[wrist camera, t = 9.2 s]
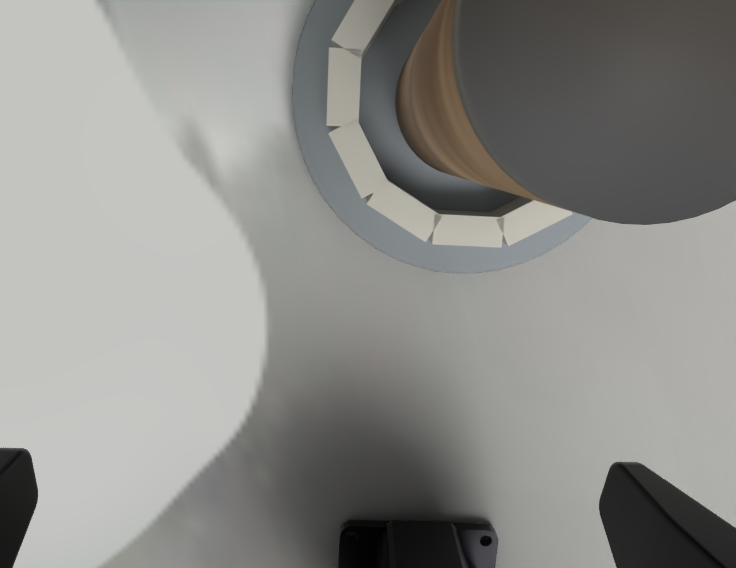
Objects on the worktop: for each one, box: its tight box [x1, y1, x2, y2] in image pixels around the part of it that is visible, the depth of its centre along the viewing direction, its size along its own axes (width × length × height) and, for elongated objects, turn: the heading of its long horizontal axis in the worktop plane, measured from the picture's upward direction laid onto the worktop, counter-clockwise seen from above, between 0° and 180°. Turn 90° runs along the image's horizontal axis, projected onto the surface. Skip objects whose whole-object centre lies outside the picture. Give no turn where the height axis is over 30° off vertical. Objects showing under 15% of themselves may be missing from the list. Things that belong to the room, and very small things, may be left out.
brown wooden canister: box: [395, 0, 736, 225], centre depth 13 cm, size 6×5×13 cm
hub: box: [292, 0, 592, 273], centre depth 20 cm, size 12×12×2 cm
